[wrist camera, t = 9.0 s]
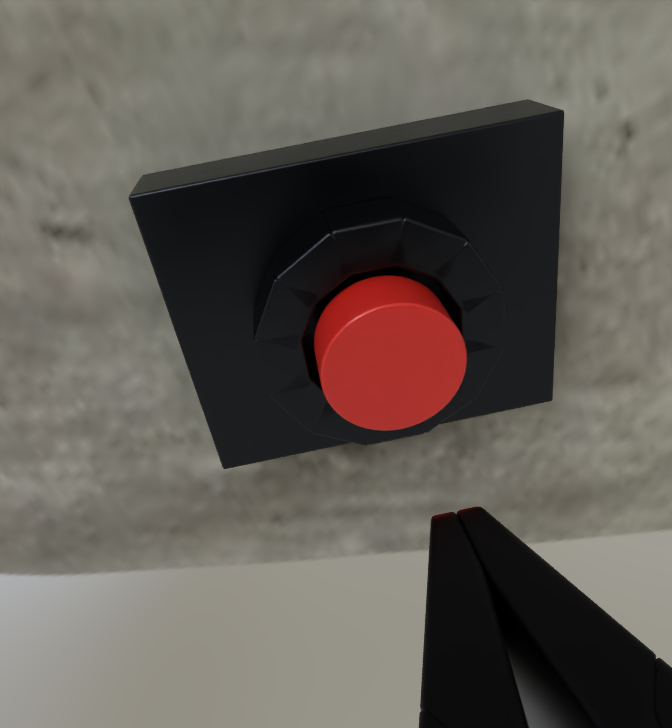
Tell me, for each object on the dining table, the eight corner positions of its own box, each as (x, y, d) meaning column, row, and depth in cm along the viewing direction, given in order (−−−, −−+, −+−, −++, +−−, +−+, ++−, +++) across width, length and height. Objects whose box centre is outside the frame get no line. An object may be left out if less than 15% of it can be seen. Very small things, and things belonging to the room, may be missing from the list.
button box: (225, 429, 21) (220, 510, 18) (141, 175, 16) (112, 218, 13) (526, 367, 21) (579, 435, 18) (529, 98, 16) (602, 121, 13)
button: (326, 405, 17) (333, 444, 15) (301, 289, 15) (307, 320, 13) (451, 379, 17) (471, 415, 15) (442, 261, 15) (464, 289, 13)
